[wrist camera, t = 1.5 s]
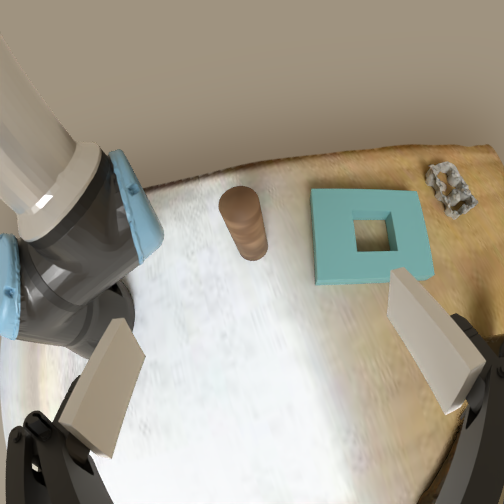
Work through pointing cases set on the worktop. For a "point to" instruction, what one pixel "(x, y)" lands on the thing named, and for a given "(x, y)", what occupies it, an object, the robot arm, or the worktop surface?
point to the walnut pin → (244, 221)
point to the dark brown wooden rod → (440, 477)
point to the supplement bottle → (496, 344)
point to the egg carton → (456, 194)
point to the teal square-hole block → (344, 242)
